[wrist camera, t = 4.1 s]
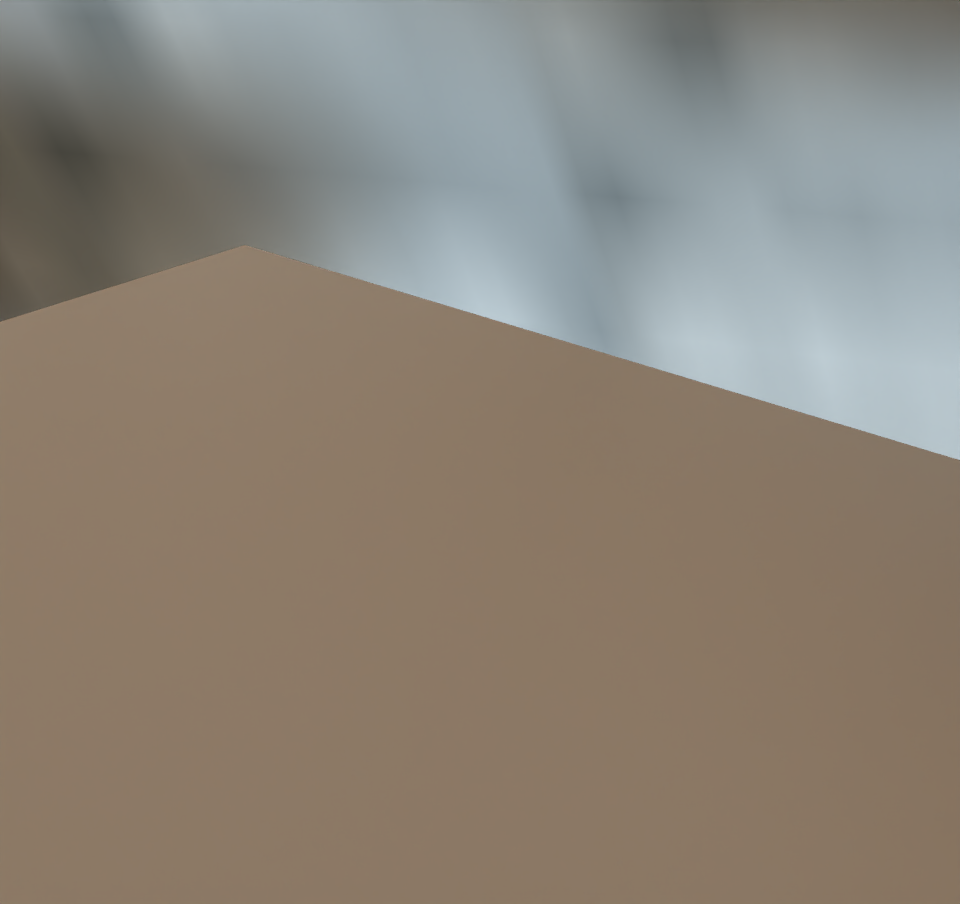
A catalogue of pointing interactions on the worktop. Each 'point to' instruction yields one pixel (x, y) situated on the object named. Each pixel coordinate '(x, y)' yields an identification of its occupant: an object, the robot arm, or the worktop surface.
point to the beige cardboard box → (452, 616)
